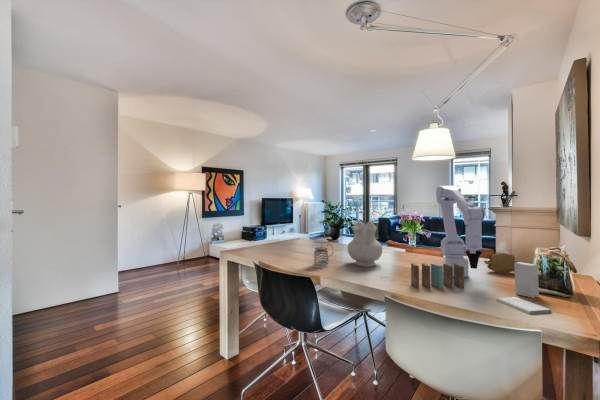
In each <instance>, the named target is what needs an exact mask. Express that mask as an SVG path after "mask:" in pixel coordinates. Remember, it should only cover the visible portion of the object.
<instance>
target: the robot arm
mask: <svg viewBox="0 0 600 400" xmlns="http://www.w3.org/2000/svg"><path fill="white" fill-rule="evenodd" d="M435 195H436V196H435V197H436V201H437V204H439V205H440V209H441V216H442V220H443V221H442V222H443V226H444V234H445V237H443V239H442V240H441V241H440V252H441V254H442V255H443V256H444V264H449V265H451V266H452V267H453V278H454V264H460V265H462V266H464V278H470V276H469V266H470V269H476V270H477V268H478V264H479V259H480V257H481V255H482V252H483V251H482V250H483V246H482V243H483V241H482V239H483V237H482V235H483V234H482V231H483V230H482V228H483V227H482V226H483V225H482V221H484V219H485V216H486V214H485V210H484V208H483V207H482V206H477V205H475V204H474V203H473V201H471V199H470V198H469V197H465V196H464V195H463V194H462V189H461V187H460V186H459V185H438V186H437V187H436V191H435ZM455 204H456V207H457V208H458V209H459V210H460V212H461V213H462V219H463V223H464V225H465V242H464V240H463V238H461V237H459V236H458V233H457V227H456V221H455V215H454V210H453V205H455ZM466 255H467V257H465V256H466Z"/></svg>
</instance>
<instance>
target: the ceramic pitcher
mask: <svg viewBox="0 0 600 400" xmlns="http://www.w3.org/2000/svg"><path fill="white" fill-rule="evenodd" d="M374 223H375V222H373V221H370V220H368V221H367V222H360V221H357V222H356V223H355V224H354V225H352V226H351V229H352V231H353V233H354V234H353V235H354V237H353V239H352V240H351V241H350V242H348V244H347V252H348V255H349V256H350V259H352V260H353V261H355V263H353V264H354V265H356V266H358V267H367V268H368V267H369V268H370V267H374V266H376V261H378V260H379V259H380V258H381V257H382V254H383V245H382V244H381V242H379V241H378V240H377V239H376V233H377V232H376V231H377V230H378V226H376V225H375V224H374Z"/></svg>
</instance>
